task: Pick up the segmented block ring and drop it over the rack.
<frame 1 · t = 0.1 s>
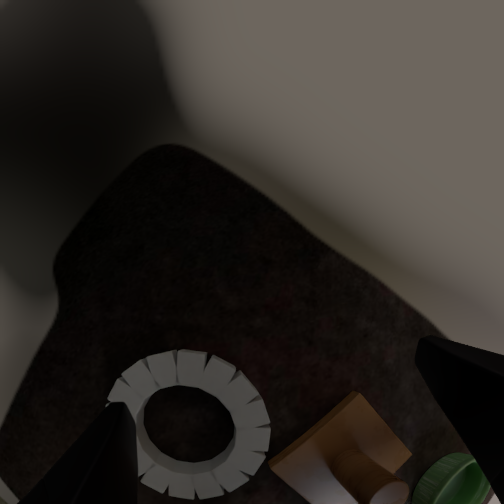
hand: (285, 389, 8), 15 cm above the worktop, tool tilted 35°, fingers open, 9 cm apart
segmented block ring: (188, 423, 20), on the worktop
rack: (342, 458, 20), on the worktop
ramekin: (439, 483, 20), on the worktop
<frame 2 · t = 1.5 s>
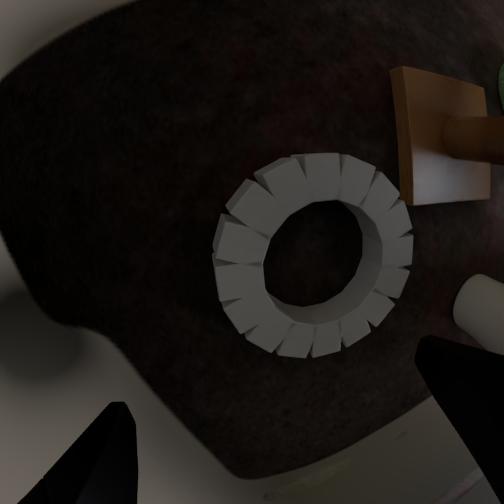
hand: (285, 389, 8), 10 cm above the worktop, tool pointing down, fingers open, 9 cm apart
segmented block ring: (312, 253, 18), on the worktop
rack: (442, 138, 18), on the worktop
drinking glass: (467, 297, 23), on the worktop
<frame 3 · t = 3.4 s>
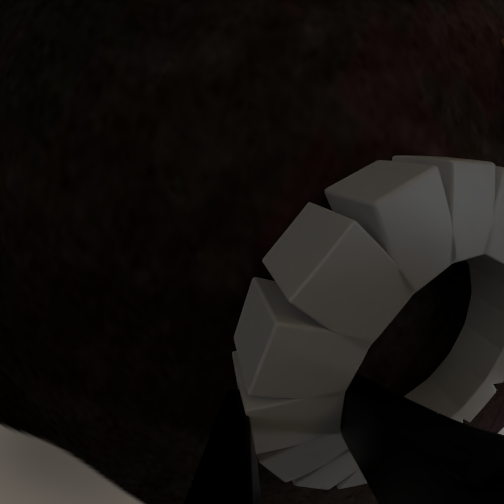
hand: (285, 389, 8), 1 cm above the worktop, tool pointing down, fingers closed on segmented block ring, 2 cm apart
segmented block ring: (404, 332, 9), on the worktop, touching gripper
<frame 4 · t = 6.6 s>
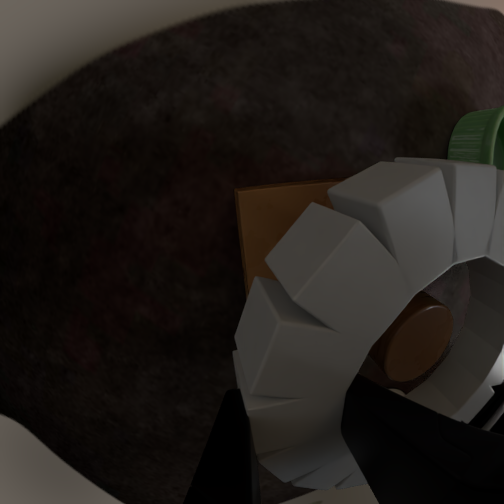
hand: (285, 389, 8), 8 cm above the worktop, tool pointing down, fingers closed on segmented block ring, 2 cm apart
segmented block ring: (404, 334, 9), point 7 cm above the worktop, touching gripper
rack: (325, 262, 16), on the worktop
ramekin: (476, 166, 17), on the worktop
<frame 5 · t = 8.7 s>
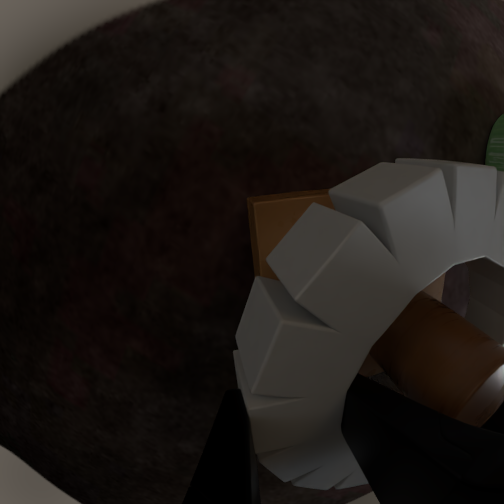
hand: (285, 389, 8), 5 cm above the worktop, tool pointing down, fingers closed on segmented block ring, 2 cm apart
segmented block ring: (403, 334, 9), point 4 cm above the worktop, touching gripper
rack: (354, 286, 13), on the worktop
when the fingers open (5 cm above the worktop, at t = 9.8 s): segmented block ring drops 3 cm, resting on rack.
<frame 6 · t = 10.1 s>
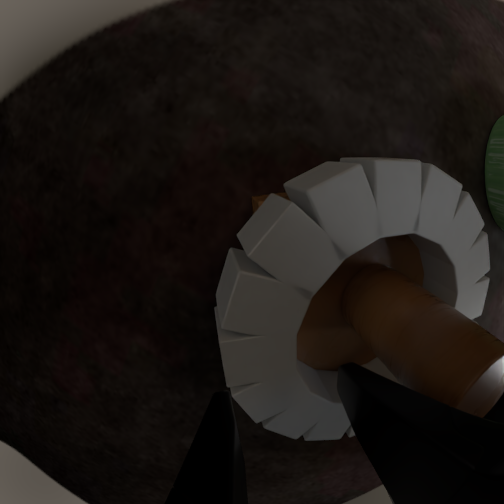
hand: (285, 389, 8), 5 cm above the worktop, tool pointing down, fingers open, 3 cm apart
segmented block ring: (359, 302, 12), point 1 cm above the worktop, touching rack
rack: (355, 283, 14), on the worktop
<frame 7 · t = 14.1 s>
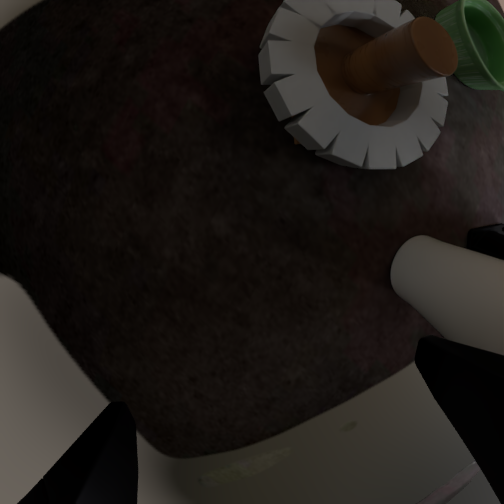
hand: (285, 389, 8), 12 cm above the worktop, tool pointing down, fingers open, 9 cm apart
segmented block ring: (354, 74, 15), point 1 cm above the worktop, touching rack
rack: (350, 78, 17), on the worktop
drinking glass: (411, 264, 22), on the worktop
ramekin: (461, 49, 17), on the worktop
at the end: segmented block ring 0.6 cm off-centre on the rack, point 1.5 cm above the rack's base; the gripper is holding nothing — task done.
